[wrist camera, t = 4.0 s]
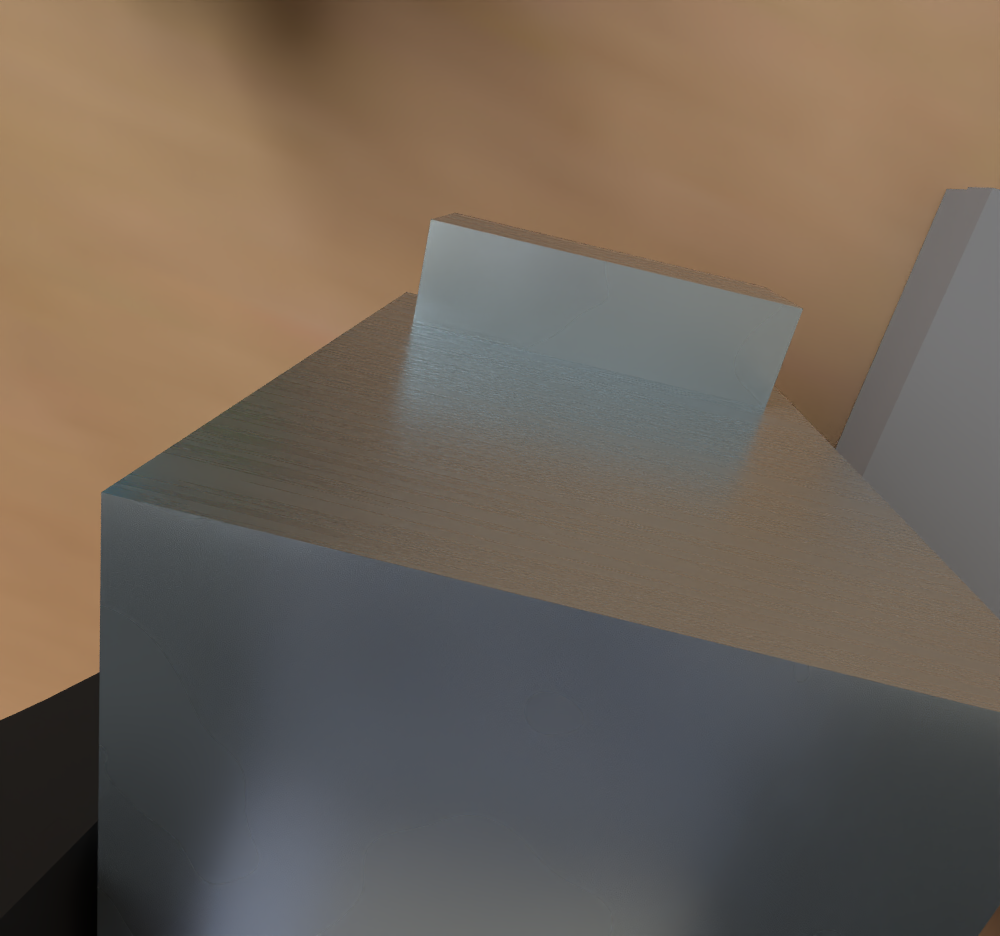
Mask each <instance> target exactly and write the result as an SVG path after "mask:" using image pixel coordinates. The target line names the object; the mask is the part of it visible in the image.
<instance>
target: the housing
mask: <svg viewBox="0 0 1000 936" xmlns="http://www.w3.org/2000/svg"><path fill="white" fill-rule="evenodd" d="M802 310H803V308H801V307H799V306H797V305H795V304H794V303H792V302H790V301H788V300H787V299H785V298H783V297H781V296H780V295H778V294H776V293H774V292H773V291H771V290H769V289H767V288H765V287H762V286H758V285H754V284H750V283H746V282H741V281H737V280H733V279H729V278H725V277H721V276H716V275H712V274H708V273H704V272H700V271H696V270H691V269H687V268H683V267H679V266H675V265H671V264H666V263H662V262H658V261H654V260H650V259H646V258H641V257H637V256H633V255H629V254H625V253H621V252H616V251H612V250H608V249H604V248H600V247H596V246H591V245H587V244H583V243H579V242H575V241H571V240H566V239H562V238H558V237H554V236H550V235H545V234H541V233H537V232H533V231H529V230H525V229H520V228H516V227H512V226H508V225H504V224H500V223H495V222H491V221H487V220H483V219H479V218H475V217H470V216H466V215H462V214H458V213H453V214H449V215H446V216H442V217H438V218H435V219H431V222H430V228H429V234H428V240H427V245H426V251H425V257H424V262H423V268H422V274H421V280H420V285H419V291H418V295H417V294H412V293H408V292H406V293H404V294H403V295H401V296H400V297H398V298H397V299H395V300H394V301H392V302H391V303H389V304H388V305H386V306H385V307H383V308H381V309H380V310H378V311H377V312H375V313H374V314H372V315H371V316H369V317H368V318H366V319H365V320H363V321H362V322H360V323H359V324H357V325H356V326H354V327H353V328H351V329H349V330H348V331H346V332H345V333H343V334H342V335H340V336H339V337H337V338H336V339H334V340H333V341H331V342H330V343H328V344H327V345H325V346H324V347H322V348H321V349H319V350H318V351H316V352H314V353H313V354H311V355H310V356H308V357H307V358H305V359H304V360H302V361H301V362H299V363H298V364H296V365H295V366H293V367H292V368H290V369H289V370H287V371H286V372H284V373H282V374H281V375H279V376H278V377H276V378H275V379H273V380H272V381H270V382H269V383H267V384H266V385H264V386H263V387H261V388H260V389H258V390H257V391H255V392H254V393H252V394H251V395H249V396H247V397H246V398H244V399H243V400H241V401H240V402H238V403H237V404H235V405H234V406H232V407H231V408H229V409H228V410H226V411H225V412H223V413H222V414H220V415H219V416H217V417H215V418H214V419H212V420H211V421H209V422H208V423H206V424H205V425H203V426H202V427H200V428H199V429H197V430H196V431H194V432H193V433H191V434H190V435H188V436H187V437H185V438H184V439H182V440H180V441H179V442H177V443H176V444H174V445H173V446H171V447H170V448H168V449H167V450H165V451H164V452H162V453H161V454H159V455H158V456H156V457H155V458H153V459H152V460H150V461H148V462H147V463H145V464H144V465H142V466H141V467H139V468H138V469H136V470H135V471H133V472H132V473H130V474H129V475H127V476H126V477H124V478H123V479H121V480H120V481H118V482H116V483H115V484H113V485H112V486H110V487H109V488H107V489H106V490H104V491H103V492H101V588H100V689H99V791H98V893H97V936H978V935H979V934H980V933H981V931H982V930H983V928H984V927H985V925H986V924H987V923H988V921H989V920H990V918H991V917H992V915H993V914H994V913H995V911H996V910H997V908H998V907H999V906H1000V620H999V619H998V618H997V617H996V616H995V614H994V613H993V612H992V611H991V610H990V609H989V608H988V607H987V606H986V605H985V604H984V603H983V602H982V601H981V600H980V599H979V598H978V597H977V596H976V595H975V594H974V593H973V592H972V591H971V590H970V589H969V587H968V586H967V585H966V584H965V583H964V582H963V581H962V580H961V579H960V578H959V577H958V576H957V575H956V574H955V573H954V572H953V571H952V570H951V569H950V568H949V567H948V566H947V565H946V564H945V563H944V561H943V560H942V559H941V558H940V557H939V556H938V555H937V554H936V553H935V552H934V551H933V550H932V549H931V548H930V547H929V546H928V545H927V544H926V543H925V542H924V541H923V540H922V539H921V538H920V537H919V536H918V534H917V533H916V532H915V531H914V530H913V529H912V528H911V527H910V526H909V525H908V524H907V523H906V522H905V521H904V520H903V519H902V518H901V517H900V516H899V515H898V514H897V513H896V512H895V511H894V510H893V509H892V507H891V506H890V505H889V504H888V503H887V502H886V501H885V500H884V499H883V498H882V497H881V496H880V495H879V494H878V493H877V492H876V491H875V490H874V489H873V488H872V487H871V486H870V485H869V484H868V483H867V482H866V480H865V479H864V478H863V477H862V476H861V475H860V474H859V473H858V472H857V471H856V470H855V469H854V468H853V467H852V466H851V465H850V464H849V463H848V462H847V461H846V460H845V459H844V458H843V457H842V456H841V455H840V453H839V452H838V451H837V450H836V449H835V448H834V447H833V446H832V445H831V444H830V443H829V442H828V441H827V440H826V439H825V438H824V437H823V436H822V435H821V434H820V433H819V432H818V431H817V430H816V429H815V428H814V426H813V425H812V424H811V423H810V422H809V421H808V420H807V419H806V418H805V417H804V416H803V415H802V414H801V413H800V412H799V411H798V410H797V409H796V408H795V407H794V406H793V405H792V404H791V403H790V402H789V401H788V399H787V398H786V397H785V396H784V395H783V394H782V393H781V392H780V391H779V390H778V389H777V388H776V387H775V386H774V384H775V381H776V379H777V376H778V373H779V371H780V368H781V366H782V363H783V360H784V358H785V355H786V352H787V350H788V347H789V344H790V342H791V339H792V336H793V334H794V331H795V329H796V326H797V323H798V321H799V318H800V315H801V313H802Z"/></svg>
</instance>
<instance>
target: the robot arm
mask: <svg viewBox="0 0 1000 936" xmlns="http://www.w3.org/2000/svg"><path fill="white" fill-rule="evenodd" d="M99 689H100V672H99V673H97V674H95V675H93V676H91V677H89V678H87V679H85V680H83V681H82V682H80V683H78V684H76V685H74V686H72V687H70V688H68V689H66V690H64V691H62V692H60V693H58V694H56V695H54V696H52V697H50V698H48V699H46V700H44V701H42V702H40V703H37V704H35V705H33V706H31V707H29V708H27V709H25V710H22V711H20V712H18V713H16V714H14V715H11V716H9V717H7V718H5V719H2V720H0V936H97V893H98V791H99Z"/></svg>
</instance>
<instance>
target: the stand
mask: <svg viewBox="0 0 1000 936" xmlns="http://www.w3.org/2000/svg"><path fill="white" fill-rule="evenodd" d="M836 450H837V451H838V452H839V453H840V455H841V456H842V457H843V458H844V459H845V460H846V461H847V462H848V463H849V464H850V465H851V466H852V467H853V468H854V469H855V470H856V471H857V472H858V473H859V474H860V475H861V476H862V477H863V478H864V479H865V480H866V482H867V483H868V484H869V485H870V486H871V487H872V488H873V489H874V490H875V491H876V492H877V493H878V494H879V495H880V496H881V497H882V498H883V499H884V500H885V501H886V502H887V503H888V504H889V505H890V506H891V507H892V509H893V510H894V511H895V512H896V513H897V514H898V515H899V516H900V517H901V518H902V519H903V520H904V521H905V522H906V523H907V524H908V525H909V526H910V527H911V528H912V529H913V530H914V531H915V532H916V533H917V534H918V536H919V537H920V538H921V539H922V540H923V541H924V542H925V543H926V544H927V545H928V546H929V547H930V548H931V549H932V550H933V551H934V552H935V553H936V554H937V555H938V556H939V557H940V558H941V559H942V560H943V561H944V563H945V564H946V565H947V566H948V567H949V568H950V569H951V570H952V571H953V572H954V573H955V574H956V575H957V576H958V577H959V578H960V579H961V580H962V581H963V582H964V583H965V584H966V585H967V586H968V587H969V589H970V590H971V591H972V592H973V593H974V594H975V595H976V596H977V597H978V598H979V599H980V600H981V601H982V602H983V603H984V604H985V605H986V606H987V607H988V608H989V609H990V610H991V611H992V612H993V613H994V614H995V616H996V617H997V618H998V619H999V620H1000V190H999V189H995V188H973V187H968V189H967V190H960V189H947V190H946V192H945V195H944V197H943V199H942V202H941V204H940V206H939V209H938V211H937V213H936V216H935V218H934V220H933V223H932V225H931V227H930V230H929V232H928V234H927V237H926V239H925V241H924V244H923V246H922V248H921V251H920V253H919V255H918V258H917V260H916V262H915V265H914V267H913V269H912V272H911V274H910V276H909V279H908V281H907V283H906V286H905V288H904V290H903V293H902V295H901V297H900V300H899V302H898V304H897V307H896V309H895V311H894V314H893V316H892V318H891V321H890V323H889V325H888V328H887V330H886V332H885V335H884V337H883V339H882V342H881V344H880V346H879V349H878V351H877V353H876V356H875V358H874V360H873V363H872V365H871V367H870V370H869V372H868V374H867V377H866V379H865V381H864V384H863V386H862V388H861V391H860V393H859V395H858V398H857V400H856V402H855V405H854V407H853V409H852V412H851V414H850V416H849V418H848V421H847V423H846V425H845V428H844V430H843V432H842V435H841V437H840V439H839V442H838V444H837V446H836Z"/></svg>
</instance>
